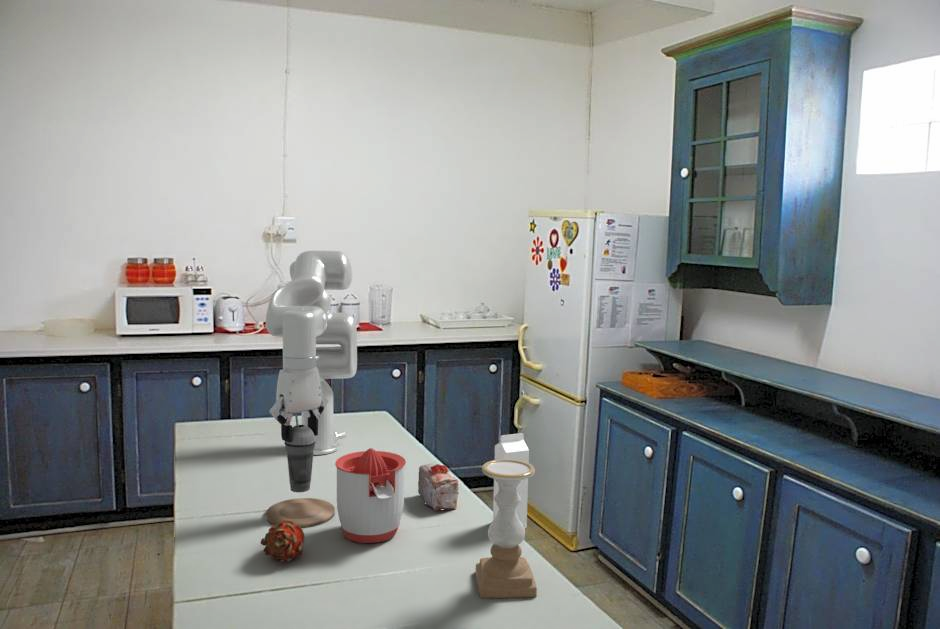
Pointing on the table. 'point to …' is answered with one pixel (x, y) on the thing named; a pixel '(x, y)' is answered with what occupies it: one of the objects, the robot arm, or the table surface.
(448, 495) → the food item
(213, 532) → the table surface
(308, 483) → the beverage cup
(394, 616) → the table surface
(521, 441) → the milk
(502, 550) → the candle holder
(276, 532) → the dragon fruit
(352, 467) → the citrus juicer
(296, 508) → the brown round plate
